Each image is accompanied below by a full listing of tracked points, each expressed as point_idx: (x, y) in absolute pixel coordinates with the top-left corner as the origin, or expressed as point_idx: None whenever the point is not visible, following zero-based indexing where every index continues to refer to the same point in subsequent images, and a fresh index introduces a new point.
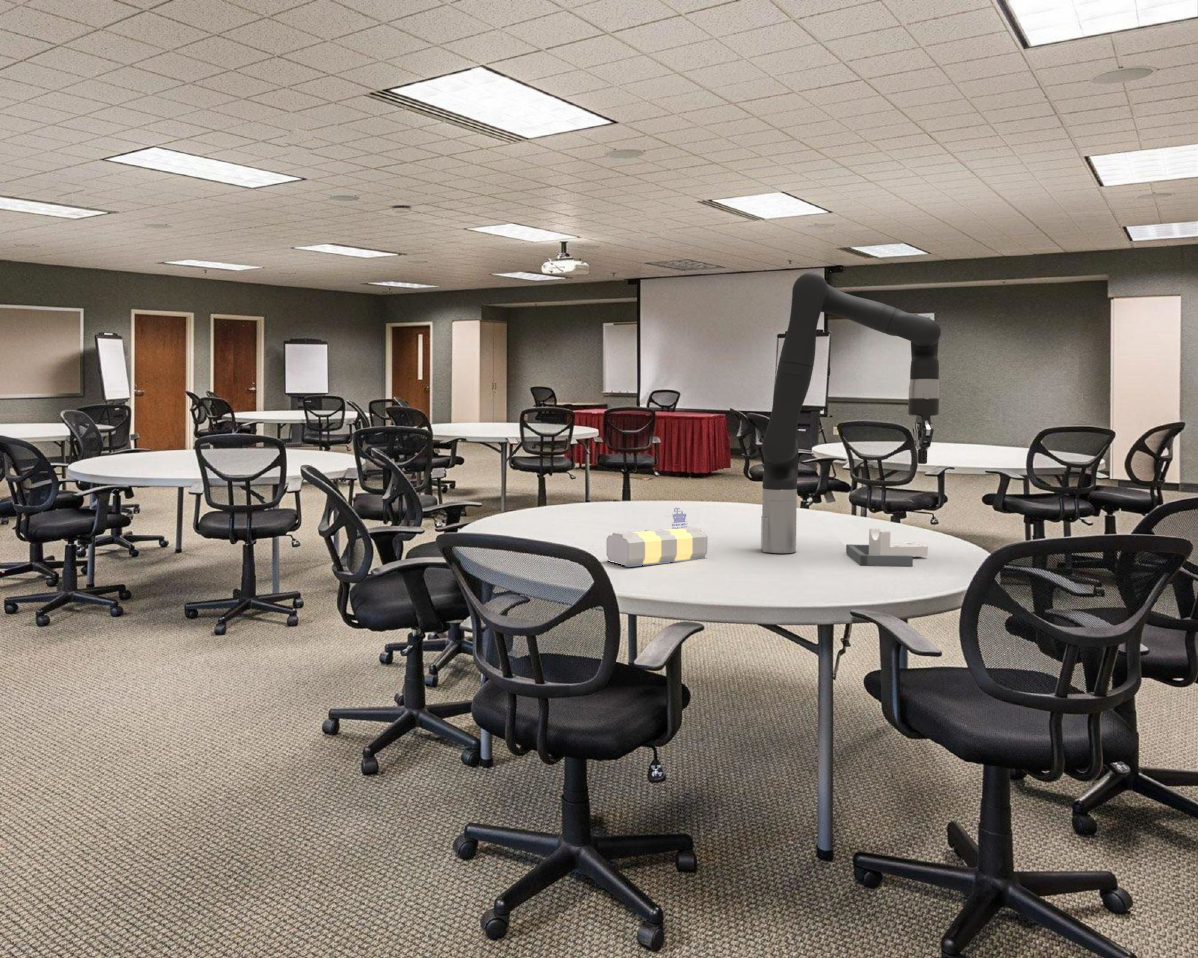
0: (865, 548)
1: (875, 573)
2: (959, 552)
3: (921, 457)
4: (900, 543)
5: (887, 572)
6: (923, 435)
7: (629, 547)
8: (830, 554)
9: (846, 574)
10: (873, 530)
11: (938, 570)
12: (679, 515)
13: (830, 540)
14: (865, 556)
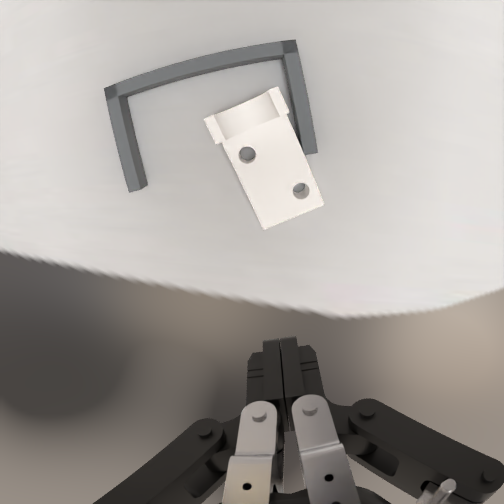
0: (289, 84)
1: (43, 130)
2: (371, 287)
3: (247, 374)
4: (301, 169)
5: (57, 147)
6: (118, 488)
7: None
8: (267, 12)
9: (24, 89)
10: (270, 98)
11: (110, 233)
12: None
13: (488, 50)
14: (106, 96)
